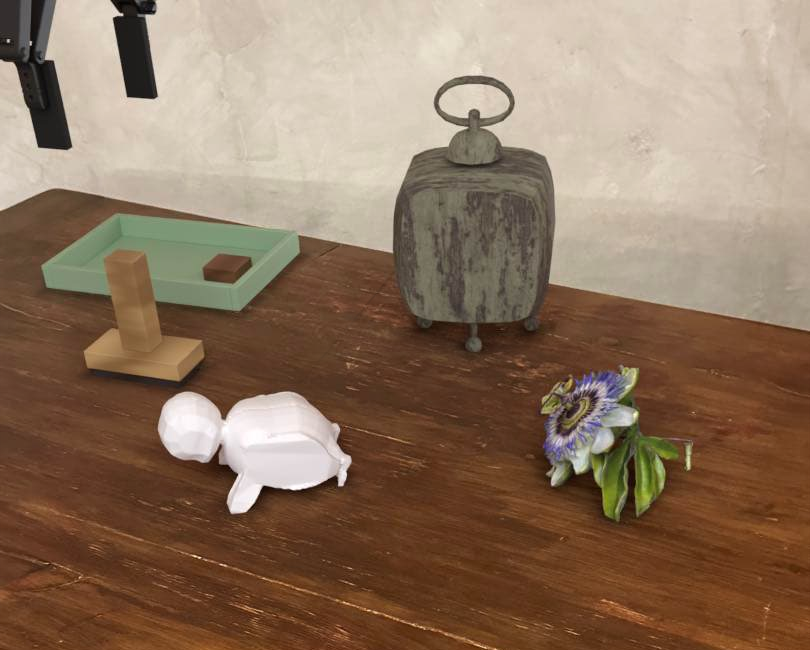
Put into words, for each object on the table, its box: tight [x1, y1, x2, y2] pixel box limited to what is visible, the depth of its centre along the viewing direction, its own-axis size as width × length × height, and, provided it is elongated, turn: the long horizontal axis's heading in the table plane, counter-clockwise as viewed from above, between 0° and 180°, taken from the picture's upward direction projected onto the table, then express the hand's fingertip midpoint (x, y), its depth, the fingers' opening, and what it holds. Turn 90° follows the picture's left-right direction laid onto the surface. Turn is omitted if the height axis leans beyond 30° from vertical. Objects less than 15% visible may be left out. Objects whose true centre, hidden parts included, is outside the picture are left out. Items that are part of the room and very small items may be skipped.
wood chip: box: [202, 254, 252, 284], centre depth 123 cm, size 4×4×2 cm
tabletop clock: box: [392, 75, 556, 354], centre depth 103 cm, size 14×9×25 cm, turn 82°
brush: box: [83, 249, 205, 390], centre depth 105 cm, size 10×5×12 cm, turn 71°
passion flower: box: [536, 364, 695, 523], centre depth 88 cm, size 11×11×12 cm
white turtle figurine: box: [157, 391, 352, 515], centre depth 90 cm, size 9×8×15 cm
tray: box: [40, 212, 301, 312], centre depth 125 cm, size 24×16×3 cm, turn 71°
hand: (101, 121), depth 94 cm, fingers open, 13 cm apart
